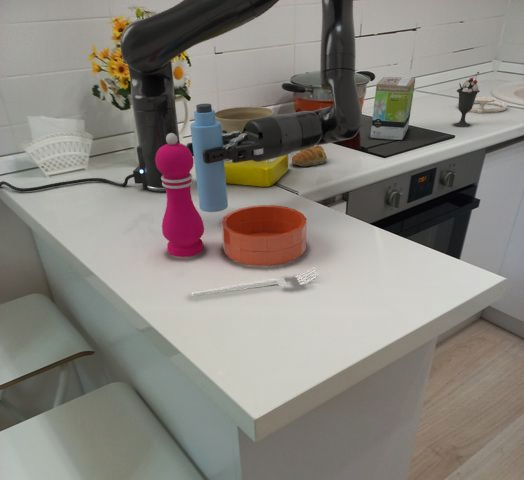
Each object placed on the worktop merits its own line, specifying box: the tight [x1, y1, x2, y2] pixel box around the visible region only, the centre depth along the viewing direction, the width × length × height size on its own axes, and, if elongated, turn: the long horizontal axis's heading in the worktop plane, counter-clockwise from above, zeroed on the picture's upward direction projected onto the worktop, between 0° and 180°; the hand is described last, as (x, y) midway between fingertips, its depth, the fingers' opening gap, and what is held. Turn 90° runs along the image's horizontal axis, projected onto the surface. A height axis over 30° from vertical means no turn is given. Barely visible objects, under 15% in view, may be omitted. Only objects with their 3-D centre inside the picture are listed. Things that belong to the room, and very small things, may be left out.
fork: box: [191, 266, 321, 297], centre depth 77 cm, size 3×20×2 cm, turn 103°
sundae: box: [453, 71, 481, 128], centre depth 156 cm, size 7×7×15 cm
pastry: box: [291, 145, 328, 168], centre depth 130 cm, size 9×7×4 cm
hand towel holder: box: [469, 96, 508, 114], centre depth 178 cm, size 17×4×20 cm
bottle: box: [189, 103, 229, 213], centre depth 91 cm, size 5×5×18 cm
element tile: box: [224, 154, 289, 188], centre depth 122 cm, size 15×15×5 cm
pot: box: [220, 204, 308, 267], centre depth 87 cm, size 15×15×6 cm
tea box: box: [369, 76, 416, 141], centre depth 150 cm, size 15×10×15 cm
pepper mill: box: [156, 133, 205, 258], centre depth 83 cm, size 7×7×20 cm
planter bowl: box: [215, 106, 275, 133], centre depth 136 cm, size 16×16×11 cm
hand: (196, 153), depth 89 cm, fingers closed on bottle, 5 cm apart
